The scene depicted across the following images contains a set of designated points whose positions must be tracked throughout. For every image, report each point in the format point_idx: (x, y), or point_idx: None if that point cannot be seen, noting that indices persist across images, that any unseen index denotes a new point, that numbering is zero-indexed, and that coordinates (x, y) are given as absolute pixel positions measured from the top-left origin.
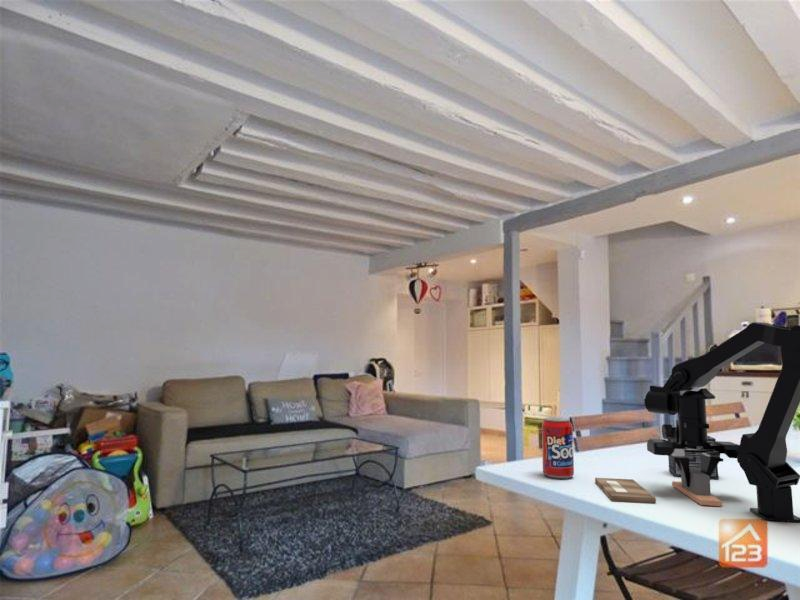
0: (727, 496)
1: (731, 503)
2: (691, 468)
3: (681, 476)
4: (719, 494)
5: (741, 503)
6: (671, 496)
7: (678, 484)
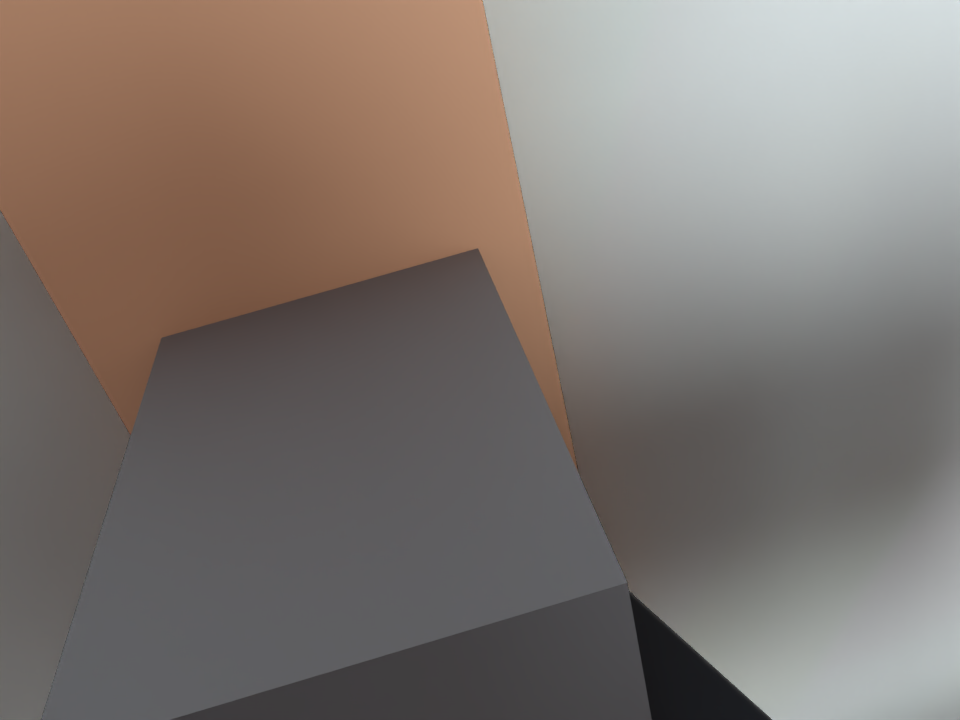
0: (935, 293)
1: (804, 626)
2: (483, 713)
3: (125, 505)
4: (861, 211)
5: (932, 570)
6: (41, 702)
7: (72, 245)
